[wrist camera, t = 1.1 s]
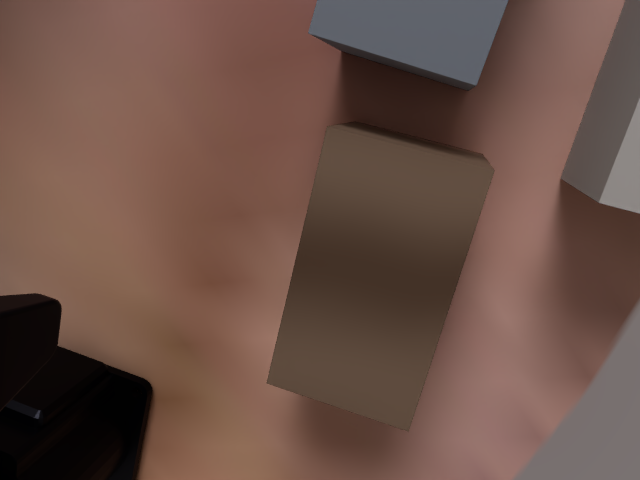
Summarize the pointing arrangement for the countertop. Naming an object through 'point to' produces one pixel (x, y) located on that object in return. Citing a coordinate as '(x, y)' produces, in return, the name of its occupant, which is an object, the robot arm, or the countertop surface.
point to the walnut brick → (377, 269)
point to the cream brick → (612, 123)
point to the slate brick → (414, 34)
